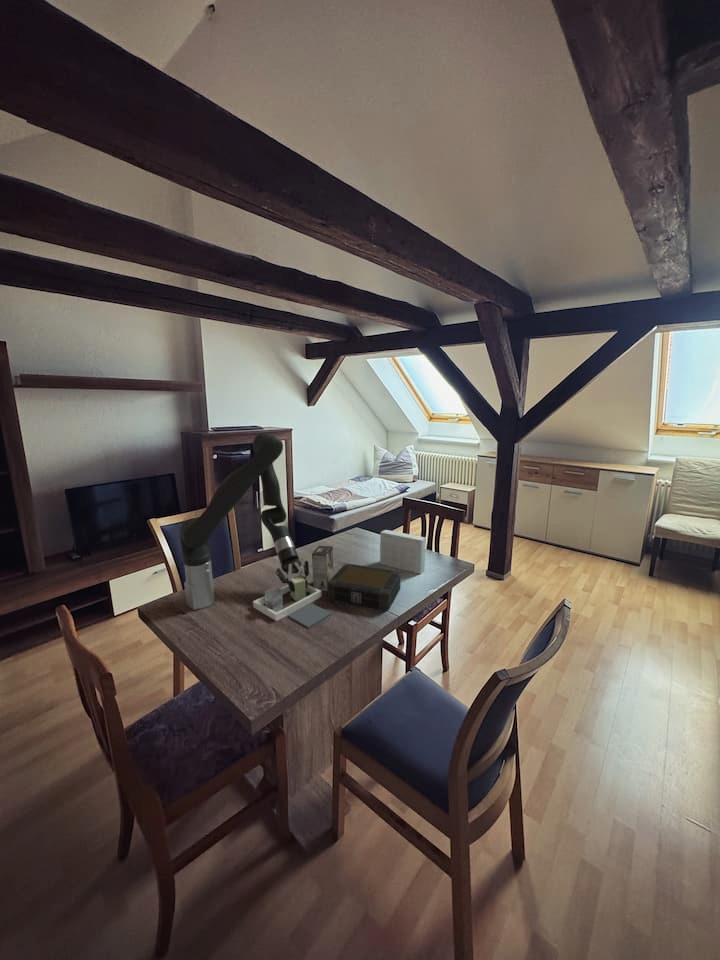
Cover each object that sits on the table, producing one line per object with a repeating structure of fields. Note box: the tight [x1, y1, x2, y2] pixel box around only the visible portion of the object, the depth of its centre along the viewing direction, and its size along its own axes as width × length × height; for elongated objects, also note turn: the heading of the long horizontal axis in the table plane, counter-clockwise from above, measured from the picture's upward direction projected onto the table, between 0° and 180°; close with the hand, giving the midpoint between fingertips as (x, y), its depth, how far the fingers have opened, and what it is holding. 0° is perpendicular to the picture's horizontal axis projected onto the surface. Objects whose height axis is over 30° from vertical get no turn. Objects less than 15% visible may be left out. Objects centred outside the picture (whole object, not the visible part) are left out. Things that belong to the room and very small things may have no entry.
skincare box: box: [379, 529, 427, 575], centre depth 175 cm, size 21×5×16 cm, turn 58°
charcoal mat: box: [287, 602, 332, 629], centre depth 137 cm, size 11×11×1 cm
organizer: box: [252, 584, 322, 622], centre depth 147 cm, size 22×14×2 cm, turn 139°
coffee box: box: [311, 545, 334, 592], centre depth 158 cm, size 9×6×16 cm
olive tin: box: [290, 575, 307, 602], centre depth 150 cm, size 5×5×8 cm
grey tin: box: [264, 586, 284, 613], centre depth 141 cm, size 4×4×8 cm
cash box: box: [327, 563, 402, 612], centre depth 152 cm, size 25×20×8 cm
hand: (300, 589), depth 148 cm, fingers closed on olive tin, 4 cm apart
